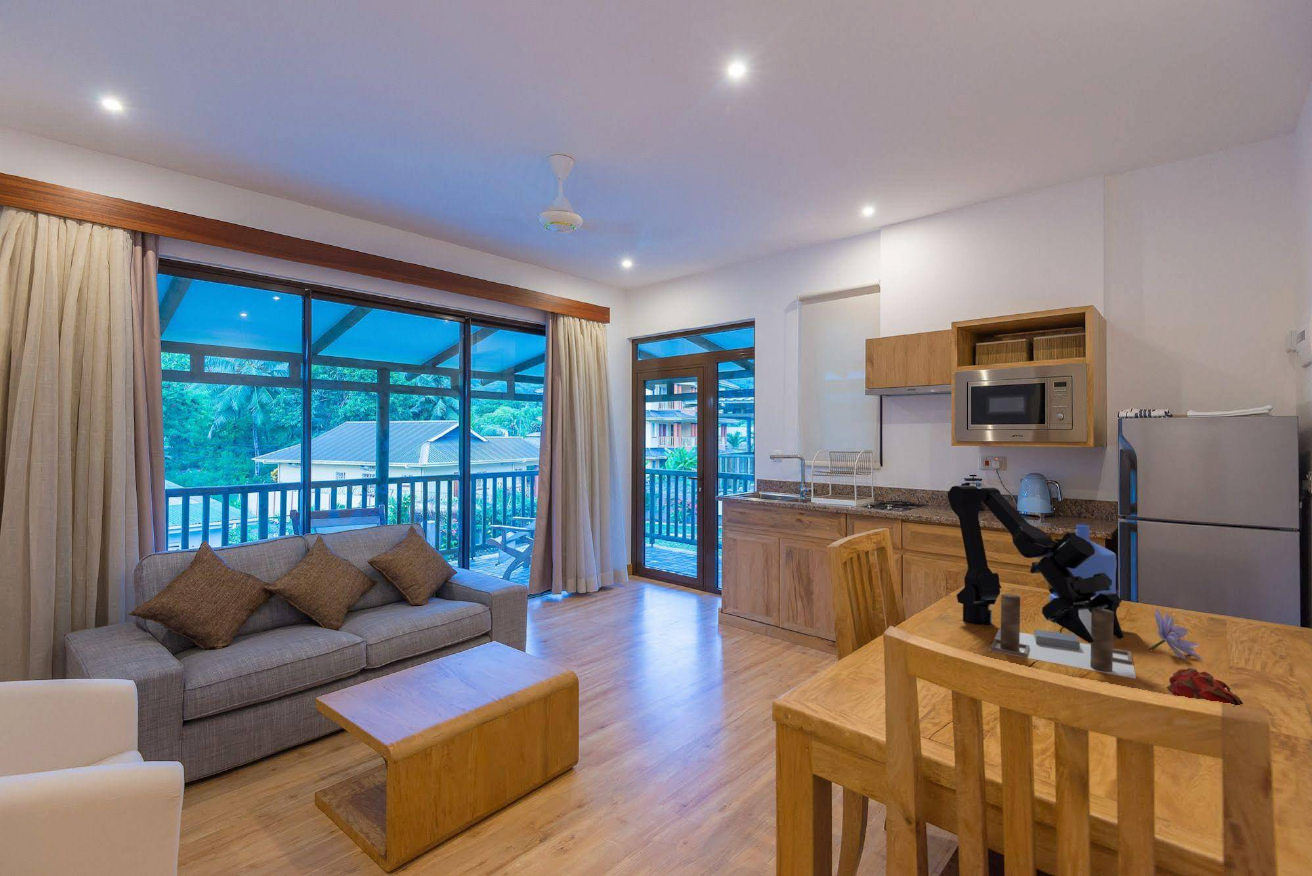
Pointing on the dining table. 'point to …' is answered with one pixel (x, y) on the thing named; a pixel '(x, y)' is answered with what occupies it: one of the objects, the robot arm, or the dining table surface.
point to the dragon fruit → (1201, 687)
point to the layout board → (1066, 655)
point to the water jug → (1095, 562)
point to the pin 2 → (1102, 639)
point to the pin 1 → (1010, 622)
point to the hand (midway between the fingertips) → (1106, 640)
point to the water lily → (1173, 636)
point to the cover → (1056, 639)
